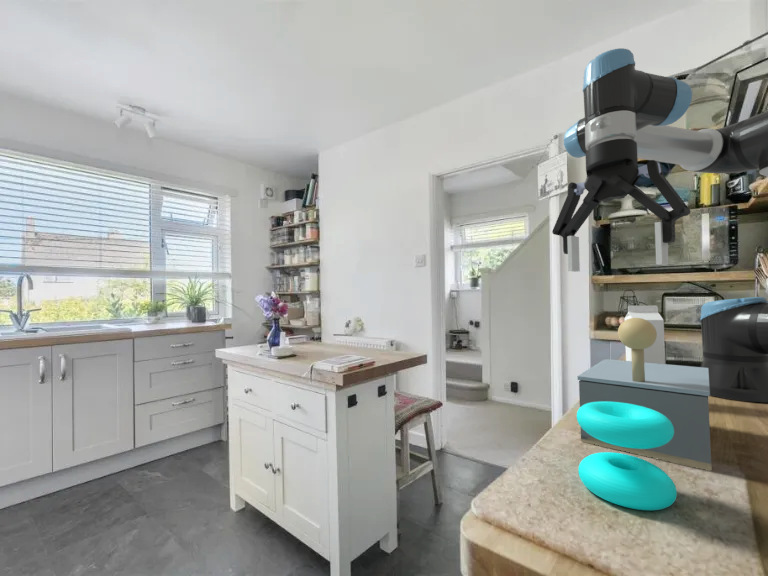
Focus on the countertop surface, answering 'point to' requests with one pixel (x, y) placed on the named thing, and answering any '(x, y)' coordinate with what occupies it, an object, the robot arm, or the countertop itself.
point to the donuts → (621, 471)
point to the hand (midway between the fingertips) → (614, 268)
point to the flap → (647, 365)
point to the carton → (678, 407)
